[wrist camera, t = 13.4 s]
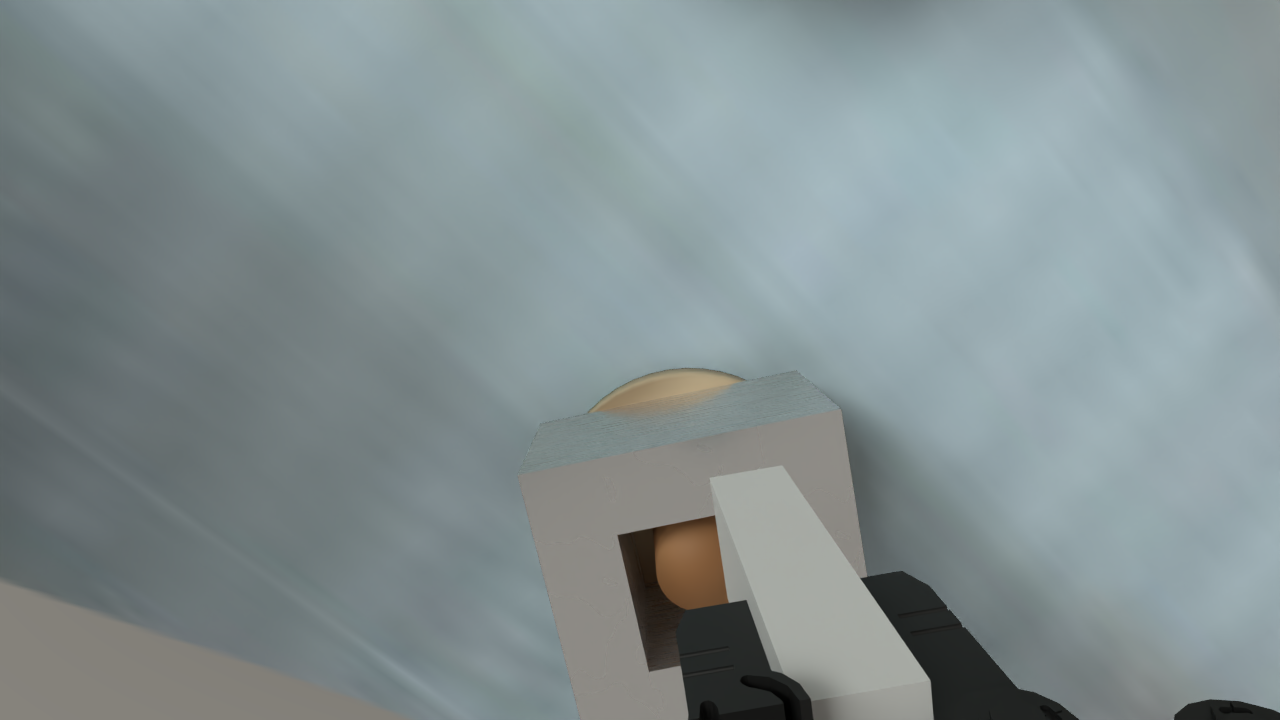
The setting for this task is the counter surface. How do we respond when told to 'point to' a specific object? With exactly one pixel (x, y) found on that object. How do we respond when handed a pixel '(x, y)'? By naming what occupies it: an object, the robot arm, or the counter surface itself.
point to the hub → (686, 548)
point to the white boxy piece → (663, 519)
